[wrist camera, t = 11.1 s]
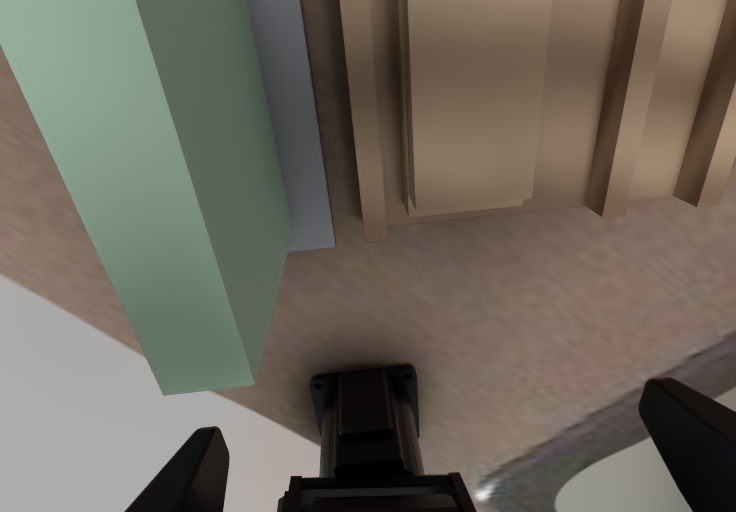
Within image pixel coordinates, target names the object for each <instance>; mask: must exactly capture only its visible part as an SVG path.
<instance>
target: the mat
mask: <svg viewBox="0 0 736 512" xmlns="http://www.w3.org/2000/svg"><path fill="white" fill-rule="evenodd" d="M247 4H248V9H249V14H250V19H251V24H252V29H253V34H254V39H255V44H256V49H257V54H258V59H259V64H260V69H261V74H262V79H263V84H264V89H265V94H266V99H267V104H268V109H269V114H270V119H271V124H272V129H273V134H274V139H275V143H276V148H277V153H278V158H279V163H280V168H281V173H282V178H283V183H284V188H285V193H286V198H287V203H288V208H289V213H290V218H291V223H292V228H293V234H292V238H291V242H290V246H289V250H288V252H294V251H304V250H313V249H322V248H332V247H336V241H335V234H334V227H333V220H332V213H331V206H330V199H329V192H328V185H327V178H326V171H325V165H324V158H323V151H322V144H321V137H320V130H319V123H318V116H317V109H316V102H315V95H314V88H313V81H312V74H311V67H310V61H309V54H308V47H307V40H306V33H305V26H304V19H303V12H302V5H301V0H247Z"/></svg>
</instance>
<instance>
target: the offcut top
mask: <svg viewBox="0 0 736 512" xmlns="http://www.w3.org/2000/svg"><path fill="white" fill-rule="evenodd" d="M401 2H402V24H403V47H404V69H405V91H406V113H407V136H408V158H409V180H410V198H411V201H412V203H413V205H414V208H415V210H416V211H421V210H431V209H440V208H449V207H458V206H468V205H477V204H486V203H496V202H505V201H514V200H524V199H532V192H533V182H534V173H535V163H536V154H537V144H538V134H539V125H540V115H541V106H542V96H543V87H544V77H545V67H546V58H547V48H548V39H549V29H550V19H551V10H552V0H401Z"/></svg>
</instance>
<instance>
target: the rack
mask: <svg viewBox="0 0 736 512" xmlns="http://www.w3.org/2000/svg"><path fill="white" fill-rule="evenodd" d="M340 10H341V19H342V29H343V38H344V48H345V57H346V66H347V76H348V85H349V95H350V104H351V114H352V123H353V132H354V142H355V151H356V161H357V170H358V180H359V189H360V198H361V208H362V217H363V226H364V235H365V243H369V242H378V241H388V238H387V226H397V225H406V224H415V223H424V222H434V221H443V220H452V219H462V218H471V217H480V216H490V215H499V214H508V213H517V212H527V211H536V210H545V209H555V208H564V207H573V206H582V205H585V206H587V207H588V208H590V209H591V210H592V211H594V212H595V213H597V214H598V215H600V216H601V217H610V216H620V215H624V214H625V210H626V205H627V201H629V200H638V199H648V198H657V197H666V196H675V197H677V198H679V199H681V200H683V201H685V202H687V203H689V204H691V205H694V206H696V207H703V206H712V205H719V203H720V200H721V197H722V194H723V191H724V188H725V185H726V182H727V179H728V176H729V173H730V170H731V167H732V164H733V161H734V159H735V156H736V0H552V10H551V19H550V29H549V39H548V48H547V58H546V67H545V77H544V87H543V96H542V106H541V115H540V125H539V134H538V144H537V154H536V163H535V173H534V182H533V192H532V199H524V200H523V205H521V206H512V207H502V208H493V209H484V210H475V211H465V212H456V213H447V214H437V215H428V216H419V217H408V214H407V211H406V208H405V206H404V191H403V172H402V153H401V134H400V115H399V96H398V77H397V58H396V39H395V20H394V1H393V0H340Z"/></svg>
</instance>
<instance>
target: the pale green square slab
mask: <svg viewBox="0 0 736 512" xmlns="http://www.w3.org/2000/svg"><path fill="white" fill-rule="evenodd" d="M0 45H1V47H2V49H3V51H4V53H5V56H6V58H7V60H8V62H9V64H10V66H11V69H12V71H13V73H14V75H15V77H16V79H17V81H18V84H19V86H20V88H21V90H22V92H23V94H24V96H25V99H26V101H27V103H28V105H29V107H30V109H31V112H32V114H33V116H34V118H35V120H36V122H37V124H38V127H39V129H40V131H41V133H42V135H43V137H44V139H45V142H46V144H47V146H48V148H49V150H50V152H51V155H52V157H53V159H54V161H55V163H56V165H57V167H58V170H59V172H60V174H61V176H62V178H63V180H64V183H65V185H66V187H67V189H68V191H69V193H70V195H71V198H72V200H73V202H74V204H75V206H76V208H77V210H78V213H79V215H80V217H81V219H82V221H83V223H84V226H85V228H86V230H87V232H88V234H89V236H90V238H91V241H92V243H93V245H94V247H95V249H96V251H97V254H98V256H99V258H100V260H101V262H102V264H103V266H104V269H105V271H106V273H107V275H108V277H109V279H110V281H111V284H112V286H113V288H114V290H115V292H116V294H117V297H118V299H119V301H120V303H121V305H122V307H123V309H124V312H125V314H126V316H127V318H128V320H129V322H130V325H131V327H132V329H133V331H134V333H135V335H136V337H137V340H138V342H139V344H140V346H141V348H142V350H143V352H144V355H145V357H146V359H147V361H148V363H149V365H150V367H151V370H152V372H153V374H154V376H155V378H156V380H157V383H158V384H159V387H160V389H161V391H162V393H163V395H172V394H182V393H190V392H199V391H208V390H217V389H226V388H235V387H243V386H252V385H255V384H256V380H257V376H258V372H259V368H260V363H261V359H262V355H263V351H264V347H265V343H266V339H267V335H268V331H269V327H270V323H271V319H272V315H273V311H274V307H275V303H276V299H277V295H278V291H279V287H280V282H281V278H282V274H283V270H284V266H285V262H286V258H287V254H288V250H289V246H290V242H291V238H292V234H293V228H292V223H291V218H290V213H289V208H288V203H287V198H286V193H285V188H284V183H283V178H282V173H281V168H280V163H279V158H278V153H277V148H276V143H275V139H274V134H273V129H272V124H271V119H270V114H269V109H268V104H267V99H266V94H265V89H264V84H263V79H262V74H261V69H260V64H259V59H258V54H257V49H256V44H255V39H254V34H253V29H252V24H251V19H250V14H249V9H248V4H247V0H0Z"/></svg>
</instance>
